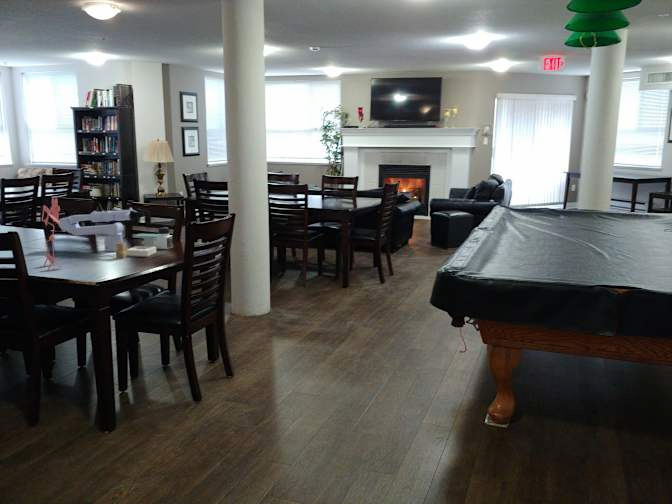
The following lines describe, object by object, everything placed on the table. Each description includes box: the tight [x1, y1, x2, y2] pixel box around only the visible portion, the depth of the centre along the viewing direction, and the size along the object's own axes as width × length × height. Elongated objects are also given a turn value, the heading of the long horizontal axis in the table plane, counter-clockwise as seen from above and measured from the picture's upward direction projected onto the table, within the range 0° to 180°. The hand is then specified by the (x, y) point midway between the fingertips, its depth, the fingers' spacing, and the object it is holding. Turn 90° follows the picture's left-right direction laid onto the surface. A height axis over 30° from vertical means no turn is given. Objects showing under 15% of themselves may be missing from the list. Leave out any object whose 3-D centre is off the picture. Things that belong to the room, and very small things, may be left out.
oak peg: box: [115, 242, 128, 260], centre depth 316 cm, size 4×4×8 cm
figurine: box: [41, 196, 77, 271], centre depth 291 cm, size 15×26×35 cm, turn 39°
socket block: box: [126, 245, 157, 258], centre depth 326 cm, size 12×12×4 cm
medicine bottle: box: [155, 227, 174, 250], centre depth 345 cm, size 7×7×12 cm
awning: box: [133, 233, 161, 247], centre depth 335 cm, size 13×7×10 cm, turn 85°
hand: (146, 213), depth 331 cm, fingers open, 7 cm apart
